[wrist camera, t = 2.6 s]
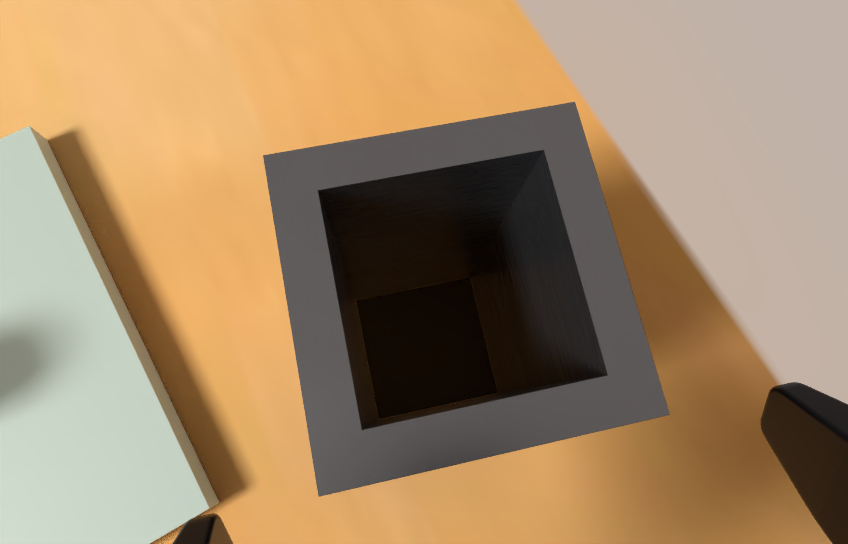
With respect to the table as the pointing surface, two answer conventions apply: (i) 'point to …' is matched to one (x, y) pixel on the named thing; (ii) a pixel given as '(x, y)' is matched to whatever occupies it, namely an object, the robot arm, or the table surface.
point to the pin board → (77, 380)
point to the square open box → (454, 260)
